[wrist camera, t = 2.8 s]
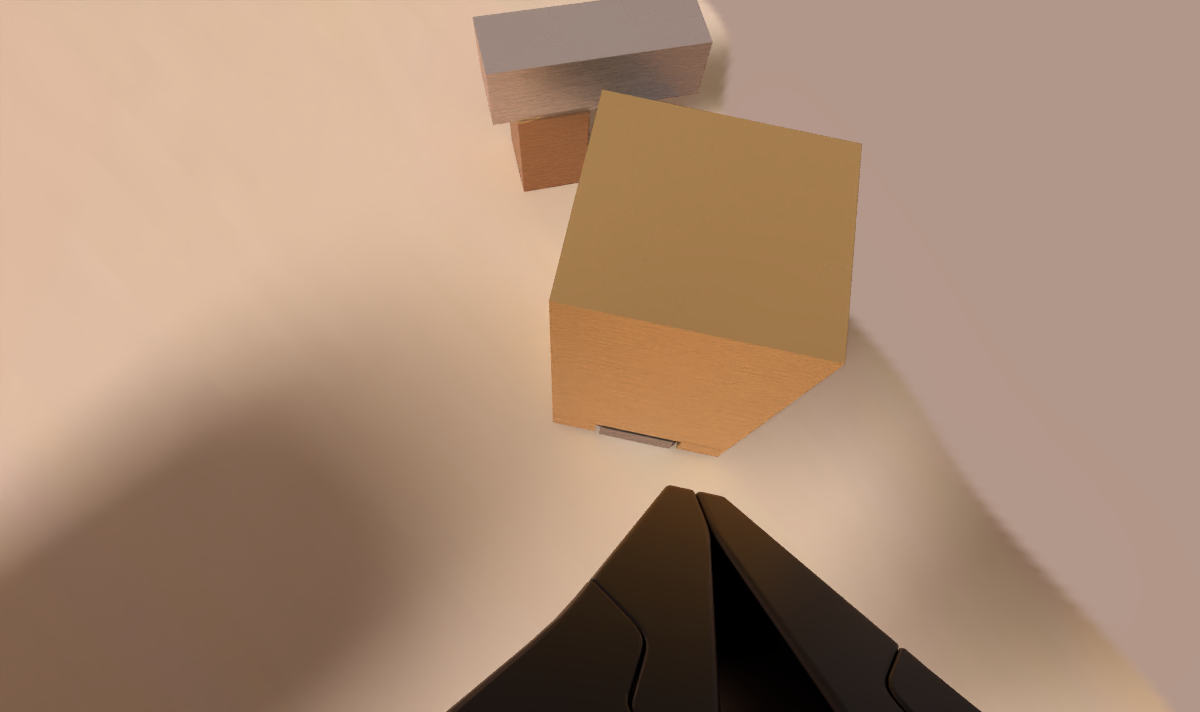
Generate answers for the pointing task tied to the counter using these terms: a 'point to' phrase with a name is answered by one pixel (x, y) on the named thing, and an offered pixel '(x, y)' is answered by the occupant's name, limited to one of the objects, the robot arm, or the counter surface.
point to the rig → (583, 80)
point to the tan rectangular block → (700, 273)
